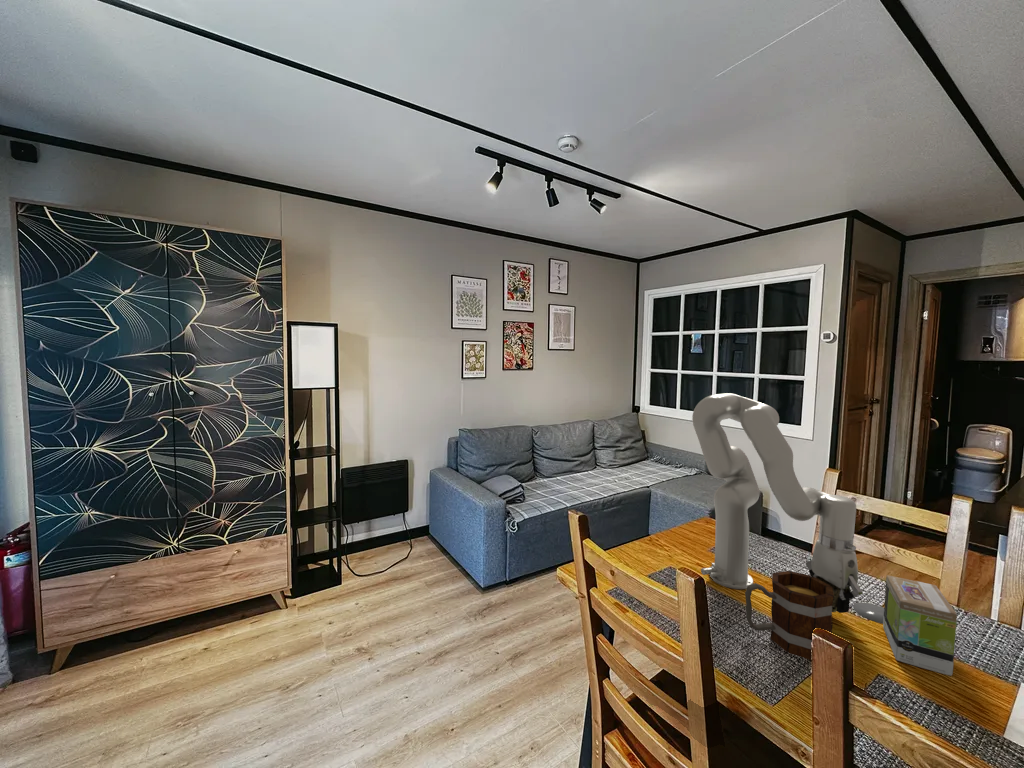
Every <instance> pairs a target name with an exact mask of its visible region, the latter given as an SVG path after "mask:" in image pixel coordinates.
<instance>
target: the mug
mask: <svg viewBox="0 0 1024 768" xmlns="http://www.w3.org/2000/svg"><path fill="white" fill-rule="evenodd" d="M771 577H772V578H771V579H772V580H771V584H772V585H771V586H772V591H768V590H767V589H766V588H765V587H764V586H763V585H762V584H758V583H756V582H755V583H754V582H753V584H751V585H748V587H747V589H745V592H744V595H745V615H746V617H745V618H746V621H747V623H748V625H749V626H750V627H749V628H751V629H753V630H755V631H757V632H760V631H770V634H769V635H770V640H771V641H772V642H774V643H775V644H776V645H777V646H778V647H780V648H781V649H782V650H783V651H784V652H786V653H787V654H790V655H793V656H796V657H800V658H803V659H806V660H810V661H812V660H811V642H812V633H813V630H814V629H815V628H821V629H824V630H827V631H829V632H831V633H832V632H833V612H832V604H833V599H834V594H833V589H832V586H830V585H828V584H826V583H824V582H823V581H821V580H819V579H817V578H815V577H813V576H811V575H810V574H804V573H800V572H796V571H791V570H785V571H778V572H777V571H776V572H772V573H771ZM755 590H760V591H761V592H762V593H763V594H764V595H765V596H767V597H768V598H770V599H771V607H770V611H771V622H765V623H758V624H756V623H754V622H753V620H752V618H753V616H752V615H753V613H752V612H753V611H752V610H753V604H752V600H751V597H752V593H753V591H755Z"/></svg>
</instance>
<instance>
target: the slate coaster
mask: <svg viewBox="0 0 1024 768" xmlns="http://www.w3.org/2000/svg"><path fill="white" fill-rule="evenodd" d="M852 609H853V610H854V612H856V613H857V614H858V615H860V616H861V617H862V618H865V619H867V620H869V621H872V622H874V621H875V623H878V624H883V618H884V606H880V605H877V604H874V603H869V602H856V603H853V605H852Z"/></svg>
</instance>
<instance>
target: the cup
mask: <svg viewBox="0 0 1024 768" xmlns="http://www.w3.org/2000/svg"><path fill="white" fill-rule="evenodd" d="M816 578H817V576H816ZM817 579H818V578H817ZM819 580H821V581H823V582H824V583H826V584H828V585H830V586H832V589H833V594H834V599H833V604H832V613H838V612H837V601H838V598H840V595H839V592H840V590H838V588H837V587H836V586H835V585H833V584H831V583H830V582H828V581H826V580H824V579H823V578H821V577H819ZM843 590H844V593H845V594H846V593H847V589H846V591H845V589H843Z"/></svg>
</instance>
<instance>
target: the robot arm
mask: <svg viewBox="0 0 1024 768" xmlns="http://www.w3.org/2000/svg"><path fill="white" fill-rule="evenodd" d="M728 419H729V420H730V419H731V420H733V421H735V422H738V423H740V425H741V427H742V429H743V431H744V433H745V435H746V436H747V438H748V439H749V441H750V443H751V444H752V446H753V448H754V450H755V452H756V453H757V455H758V456H759V458H760V460H761V462H762V464H763V469H764V472H765V475H766V476H765V477H766V479H767V482H768V486H769V487H770V490H771V491H772V494H773V495H774V497H775V499H776V501H777V502H778V504H779V506H780V507H781V509H782V510H783V512H784V513H785V514H786V515H787V516H789V518H791V519H793V520H796V521H797V522H805V521H809V520H811V519H812V518H814V517H815V516H819V530H818V539H817V540H816V542H815V544H814V548H813V552H812V556H811V557H812V558H811V560H808V561H806V562H805V565H806V568H807V570H808V573H809V575H810V576H813V577H815V578H816V576H817V578H818V579H819V577H821V578H823V579H824V580H826V581H828V582H830V583H831V584H833V585H835V586H836V587H837V588H838V590H840V592H839V595H840V598H838V601H837V612H836V613H839V614H842V613H849V610H850V604H851V603H850V601H851V600H853V599H855V598H858V597H859V596H862V595H863V590H862V589H861V588H860V586H859V584H858V581H859V580H858V578H859V573H858V572H859V568H858V559H857V554H856V549H857V547H856V545H854V538H855V526H856V525H855V524H856V516H857V503H856V502H855V501H854V500H853V499H851V498H849V497H847V496H843V495H837V494H830V493H827V492H825V491H822V490H819V489H816V488H812V487H808V486H801V484H800V482H799V480H798V478H797V475H796V473H795V469H794V452H793V449H792V447H791V446H790V444H789V443H788V441H787V439H786V438H785V436H784V435H783V433H782V431H781V429H780V428H779V426H778V425H779V423H780V416H779V413H778V411H777V410H776V409H775V408H774V407H772V406H770V405H768V404H766V403H762V402H760V401H758V400H754V399H751V398H748V397H744V396H741V395H738V394H736V393H731V392H729V393H728V392H726V393H725V392H723V393H716V394H715V393H714V394H710V395H708V396H706V397H704V398H703V399H701V400H700V401H699V402H698V403H697V404H696V405H695V408H694V409H693V413H692V417H691V421H692V425H693V429H694V430H695V434H696V436H697V440H698V443H699V445H700V449H701V452H702V455H703V457H704V461H705V464H706V467H707V470H708V472H709V473H710V475H711V476H712V477H713V478H716V479H719V480H720V479H721V480H722V479H723V480H725V483H723V484H721V485H720V486H719V487H717V489H716V490H715V492H714V495H713V505H714V513H715V534H714V535H715V536H714V537H715V540H714V547H715V548H714V562H711V566H709V567H702V568H701V569H700V572H701V574H702V575H703V576H705V575H708V576H709V575H710V576H709V578H710V577H711V578H712V579H713V580H712V579H711V578H710V579H711V580H712V581H714V582H715V583H716V584H718V585H720V586H723V587H726V588H730V589H734V590H746V589H747V587H748V585H751V584H754V579H753V577H752V576H751V575H750V574H749V551H750V550H749V548H750V547H749V544H750V522H749V517H748V516H749V515H748V509H749V508H751V507H752V506H754V505H755V504H756V503H757V502H758V500H759V497H760V489H759V485H758V482H757V480H756V479H757V478H756V476H755V474H754V471H753V469H752V465H751V462H750V460H749V458H748V456H747V455H746V453H745V452H744V451H743V450H742V449H741V448H739V447H738V446H736V445H730V441H729V439H728V436H727V433H726V432H725V430H724V428H723V426H722V425H721V422H722V421H724V420H728ZM843 589H845V591H846V589H847V593H846V594H845V593H844V590H843Z"/></svg>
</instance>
